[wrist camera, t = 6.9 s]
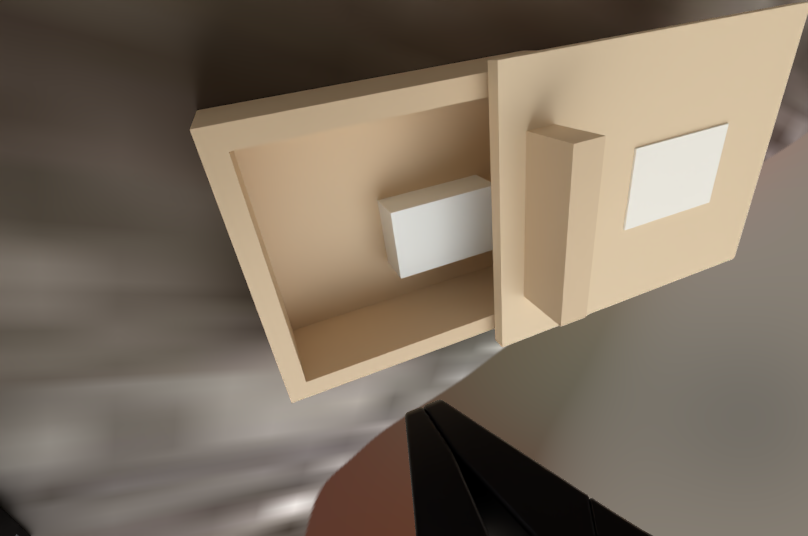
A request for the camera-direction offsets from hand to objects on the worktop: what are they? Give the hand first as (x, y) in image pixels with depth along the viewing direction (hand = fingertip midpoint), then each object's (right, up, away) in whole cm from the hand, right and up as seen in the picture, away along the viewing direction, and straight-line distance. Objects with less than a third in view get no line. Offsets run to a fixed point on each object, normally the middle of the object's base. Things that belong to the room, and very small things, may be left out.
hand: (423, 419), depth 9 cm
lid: (+10, +7, +10) cm, 15 cm away
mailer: (-1, +6, +11) cm, 13 cm away
